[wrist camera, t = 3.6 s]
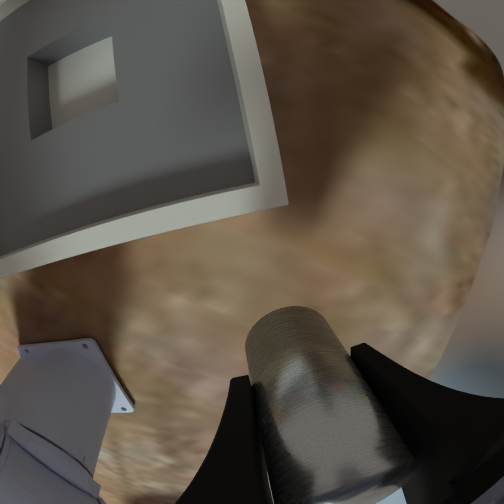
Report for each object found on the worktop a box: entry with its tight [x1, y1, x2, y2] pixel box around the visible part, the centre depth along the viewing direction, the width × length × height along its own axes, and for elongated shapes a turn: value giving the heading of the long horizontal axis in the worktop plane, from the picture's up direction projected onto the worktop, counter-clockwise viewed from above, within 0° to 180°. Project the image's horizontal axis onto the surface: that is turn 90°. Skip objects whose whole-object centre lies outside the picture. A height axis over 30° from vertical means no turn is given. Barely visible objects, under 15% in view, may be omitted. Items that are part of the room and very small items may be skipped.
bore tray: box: [0, 0, 289, 279], centre depth 10 cm, size 18×18×5 cm
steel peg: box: [245, 306, 418, 504], centre depth 9 cm, size 4×4×8 cm
